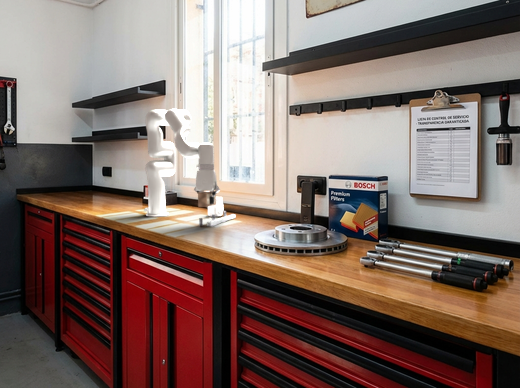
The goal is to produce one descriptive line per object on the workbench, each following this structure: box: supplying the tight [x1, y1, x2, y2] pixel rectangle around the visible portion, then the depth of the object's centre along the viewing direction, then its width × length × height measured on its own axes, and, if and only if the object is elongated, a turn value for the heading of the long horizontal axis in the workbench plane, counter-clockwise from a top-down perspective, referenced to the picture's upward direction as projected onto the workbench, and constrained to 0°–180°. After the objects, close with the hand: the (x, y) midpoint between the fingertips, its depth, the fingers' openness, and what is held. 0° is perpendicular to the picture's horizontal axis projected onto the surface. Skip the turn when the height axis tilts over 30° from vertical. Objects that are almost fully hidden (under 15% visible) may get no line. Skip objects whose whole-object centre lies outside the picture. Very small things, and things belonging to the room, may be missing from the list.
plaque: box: [197, 191, 217, 208], centre depth 206 cm, size 4×10×7 cm, turn 158°
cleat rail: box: [206, 213, 237, 227], centre depth 211 cm, size 2×28×2 cm, turn 158°
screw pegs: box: [198, 210, 227, 227], centre depth 213 cm, size 2×28×4 cm, turn 158°
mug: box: [207, 196, 225, 218], centre depth 231 cm, size 12×8×10 cm
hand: (207, 203), depth 206 cm, fingers closed on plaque, 4 cm apart
